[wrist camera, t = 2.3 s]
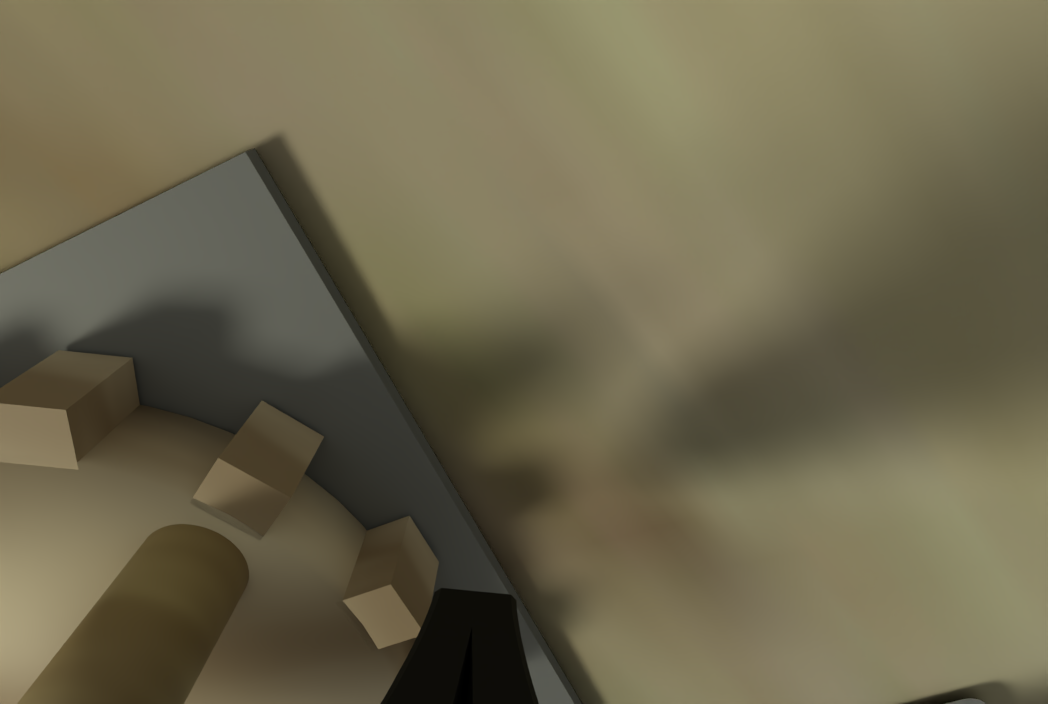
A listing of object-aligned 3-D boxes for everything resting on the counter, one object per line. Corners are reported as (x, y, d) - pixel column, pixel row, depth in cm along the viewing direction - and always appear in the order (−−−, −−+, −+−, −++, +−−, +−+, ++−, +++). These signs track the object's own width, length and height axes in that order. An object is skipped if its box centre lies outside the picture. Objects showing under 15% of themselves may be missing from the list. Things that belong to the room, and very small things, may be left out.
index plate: (605, 743, 18) (606, 759, 18) (105, 875, 21) (97, 891, 21) (254, 148, 12) (243, 152, 11) (-387, 467, 15) (-414, 479, 14)
